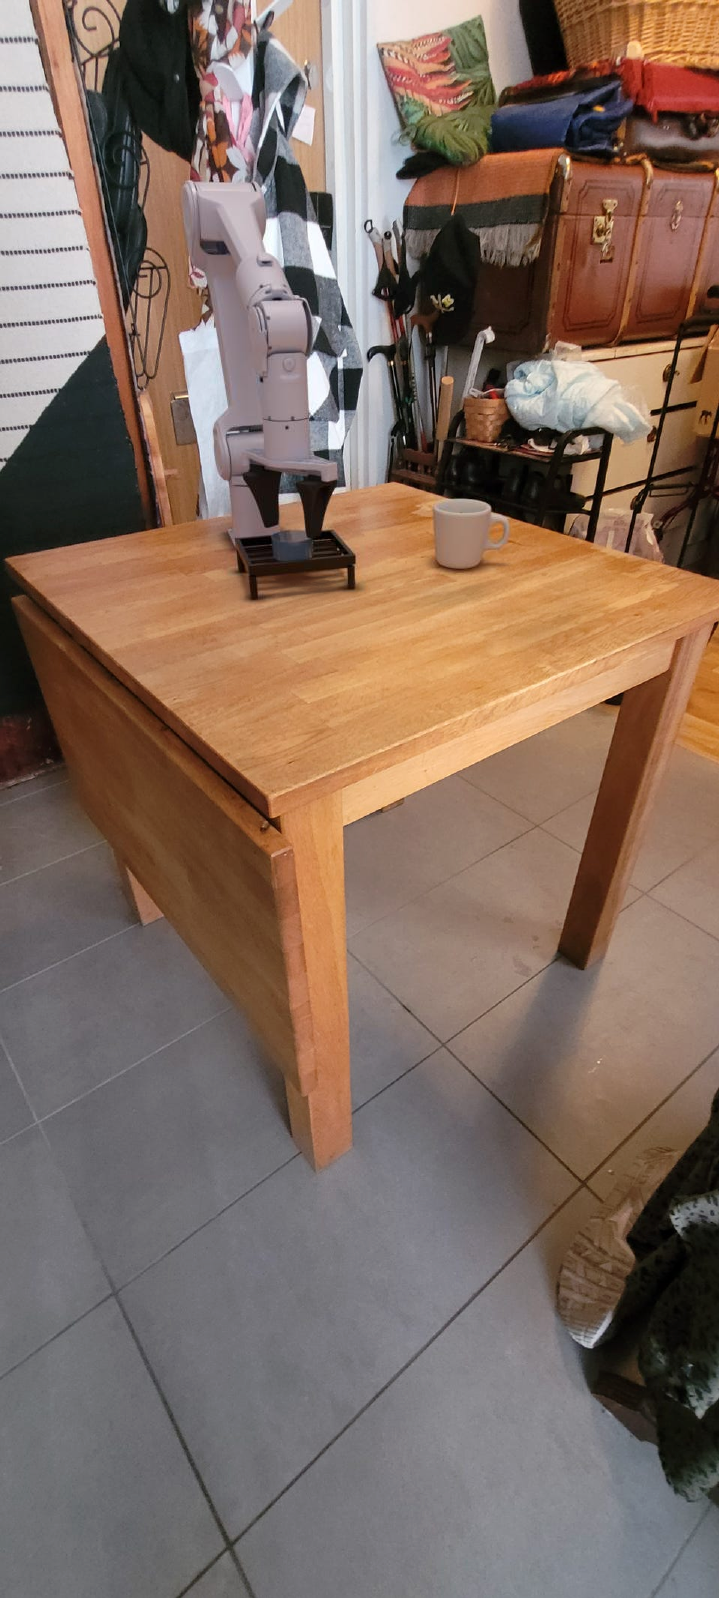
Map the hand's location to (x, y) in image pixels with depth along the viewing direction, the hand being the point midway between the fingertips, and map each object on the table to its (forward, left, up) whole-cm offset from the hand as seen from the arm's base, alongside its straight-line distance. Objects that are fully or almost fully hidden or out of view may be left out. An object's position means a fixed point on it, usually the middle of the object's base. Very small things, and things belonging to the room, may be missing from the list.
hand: (292, 531), depth 101 cm
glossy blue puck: (0, 0, -3) cm, 3 cm away
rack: (0, 0, -6) cm, 6 cm away
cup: (+1, +25, -7) cm, 26 cm away
